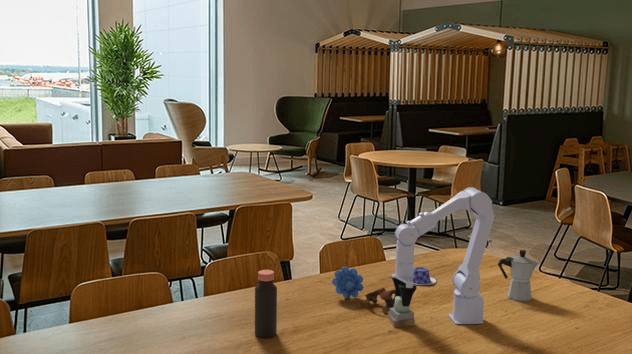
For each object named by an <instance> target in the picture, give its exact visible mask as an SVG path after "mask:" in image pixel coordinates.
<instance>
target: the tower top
mask: <svg viewBox="0 0 632 354" xmlns="http://www.w3.org/2000/svg"><path fill="white" fill-rule="evenodd" d="M388 313H389V314H390V315H391V316H392V317H394V318H395V319H396V320H397V321H398V320H406V319H415V312H414V311H412V309H410V310H409V312H405V313H402V312H397V311H395V307H394V308H389V312H388Z"/></svg>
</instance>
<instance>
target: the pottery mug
mask: <svg viewBox="0 0 632 354" xmlns="http://www.w3.org/2000/svg"><path fill="white" fill-rule="evenodd" d="M393 294H394V297H393ZM364 296H365V297H366V299H365V302H366V303H368V304H369V303H370V302H372V303H373V304H374V305H376V304H377V303H378V301H379V300H378V296H379V297H380V299H381V300H382V301H384V303H385V305H384V306H382V307H381V310H382V313H383V314H388V313H389V308H395V297H396V292H395V289H392V290H386V288H385V286H383V287H380V288H378V289H375V290H374V291H371V292H368V293H366V294H365V295H364Z"/></svg>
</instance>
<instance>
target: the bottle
mask: <svg viewBox="0 0 632 354" xmlns="http://www.w3.org/2000/svg"><path fill="white" fill-rule="evenodd" d="M257 281H258V282H259V283H257V285H255V287H254V335H255V336H256V337H258V338H261V339H262V338H263V339H267V338H268V339H270V338H273V337H274V336H276V335H277V334H278V333H277V325H278V324H277V323H278V322H277V321H278V319H277V318H278V317H277V316H278V315H277V314H278V313H277V312H278V310H277V309H278V302H277V301H278V286H277V285H276V284H274V281H275V271H274V270H271V269H262V270H259V271H258V272H257Z"/></svg>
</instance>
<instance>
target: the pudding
mask: <svg viewBox="0 0 632 354" xmlns="http://www.w3.org/2000/svg"><path fill="white" fill-rule="evenodd" d="M413 275H414V276H413V285H415V286H420V285H425V286H429V285H435V284H436V282H437V280H436V279H435V278H434V277H432V276H430V271H429V269H428V268H427V267H424V266H422V267H421V266H417V267H413Z"/></svg>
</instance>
